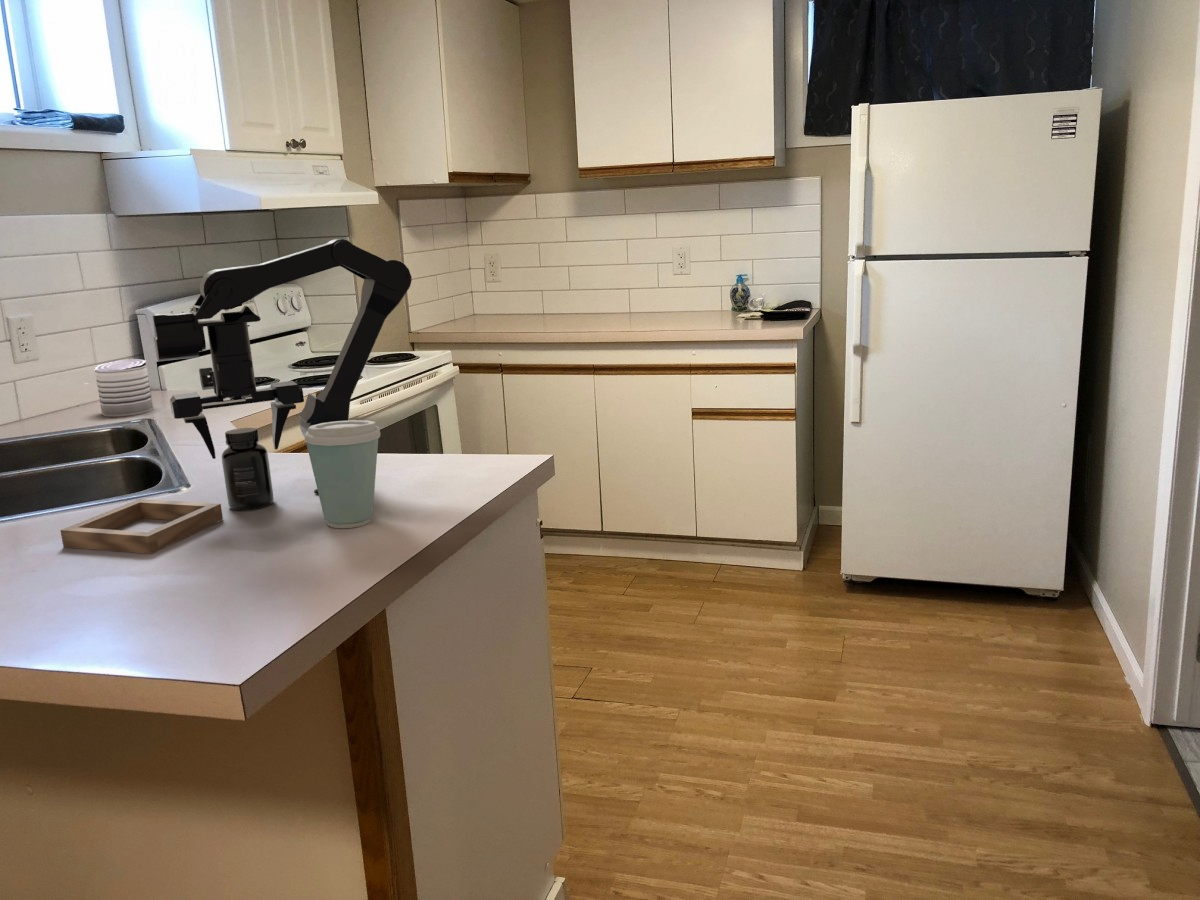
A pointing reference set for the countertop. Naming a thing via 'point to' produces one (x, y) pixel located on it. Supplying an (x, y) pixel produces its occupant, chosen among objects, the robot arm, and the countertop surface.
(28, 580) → the countertop surface
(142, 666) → the countertop surface
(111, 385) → the white ridged cylinder
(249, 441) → the supplement bottle
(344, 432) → the disposable coffee cup
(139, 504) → the square wooden frame
